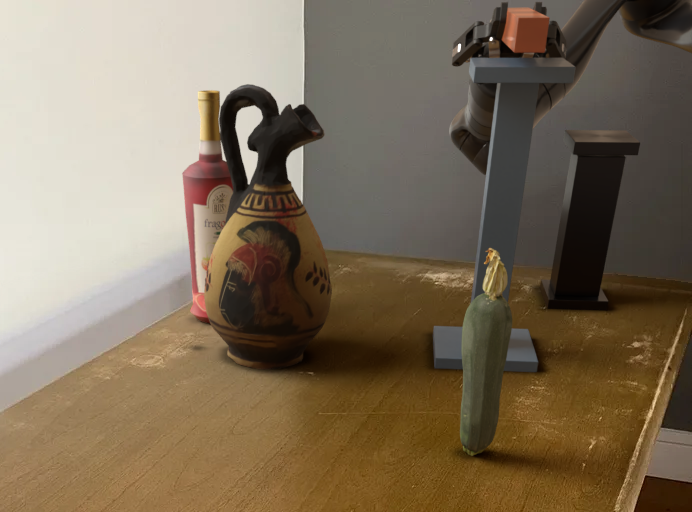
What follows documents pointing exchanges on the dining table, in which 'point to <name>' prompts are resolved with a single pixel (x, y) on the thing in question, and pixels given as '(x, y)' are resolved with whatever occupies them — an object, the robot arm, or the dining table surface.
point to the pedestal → (587, 218)
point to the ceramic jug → (267, 242)
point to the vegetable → (484, 358)
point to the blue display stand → (504, 188)
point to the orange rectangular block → (525, 30)
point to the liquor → (206, 197)
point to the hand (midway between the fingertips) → (520, 11)
